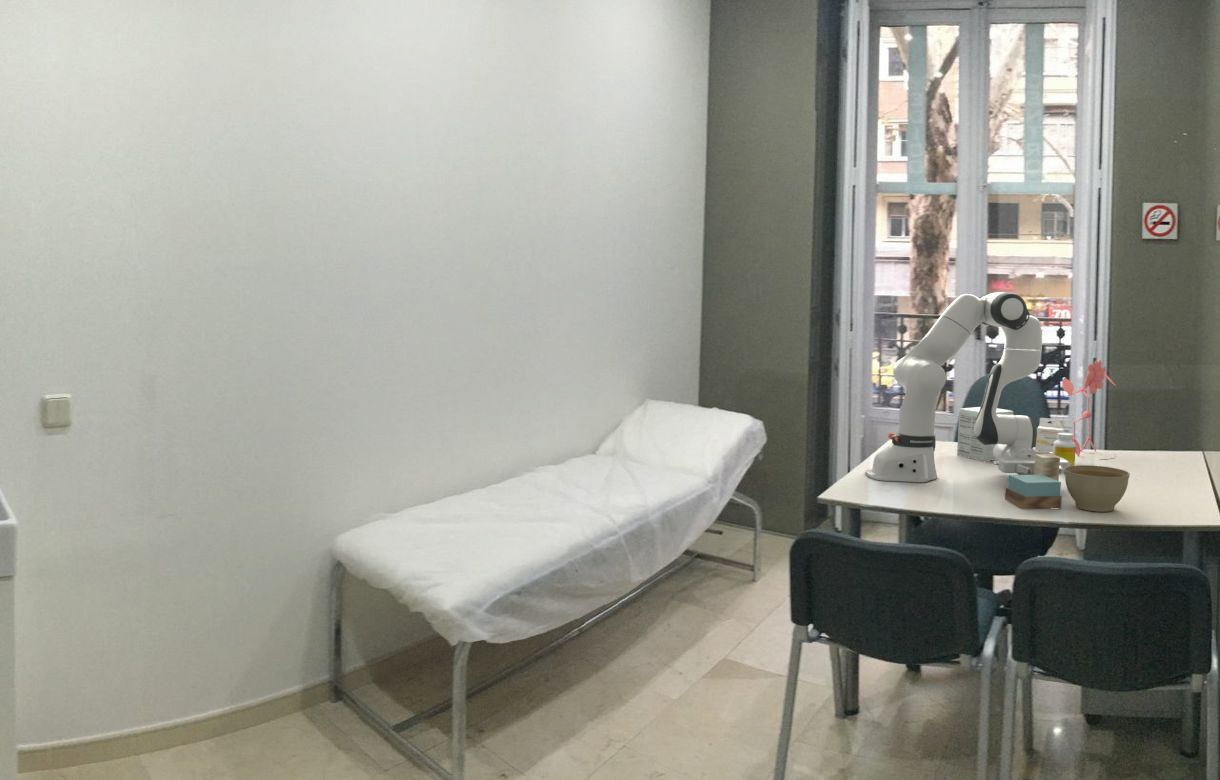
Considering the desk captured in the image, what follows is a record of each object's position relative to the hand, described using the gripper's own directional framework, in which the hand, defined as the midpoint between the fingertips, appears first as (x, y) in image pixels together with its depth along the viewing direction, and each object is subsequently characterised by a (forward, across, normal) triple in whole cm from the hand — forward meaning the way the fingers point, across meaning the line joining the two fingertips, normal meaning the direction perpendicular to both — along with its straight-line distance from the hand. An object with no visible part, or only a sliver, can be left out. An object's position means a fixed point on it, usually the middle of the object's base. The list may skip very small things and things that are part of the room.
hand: (1044, 471), depth 267 cm
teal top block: (+12, -8, +4) cm, 15 cm away
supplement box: (-56, +4, +7) cm, 56 cm away
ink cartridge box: (-51, +25, +7) cm, 57 cm away
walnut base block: (+12, -9, +8) cm, 16 cm away
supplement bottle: (-32, +21, +7) cm, 39 cm away
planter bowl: (+16, +7, +7) cm, 19 cm away
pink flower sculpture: (-58, +44, +7) cm, 74 cm away
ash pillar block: (+1, 0, +7) cm, 7 cm away
